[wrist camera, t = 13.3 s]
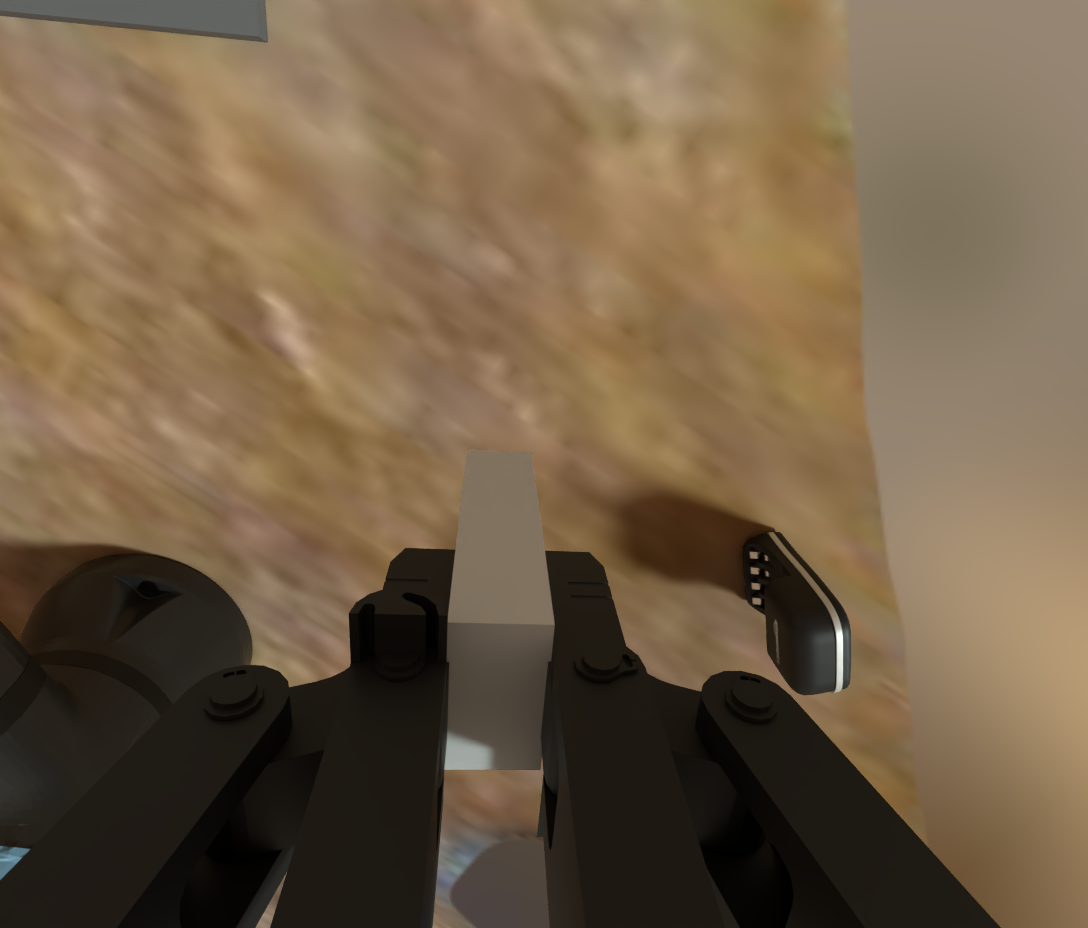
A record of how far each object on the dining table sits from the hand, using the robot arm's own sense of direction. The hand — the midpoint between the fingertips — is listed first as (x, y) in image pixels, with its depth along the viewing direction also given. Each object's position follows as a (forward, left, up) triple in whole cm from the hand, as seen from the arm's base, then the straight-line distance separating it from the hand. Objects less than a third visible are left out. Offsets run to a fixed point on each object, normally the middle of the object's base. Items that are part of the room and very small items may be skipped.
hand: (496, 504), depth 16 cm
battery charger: (+10, -27, -30) cm, 41 cm away
